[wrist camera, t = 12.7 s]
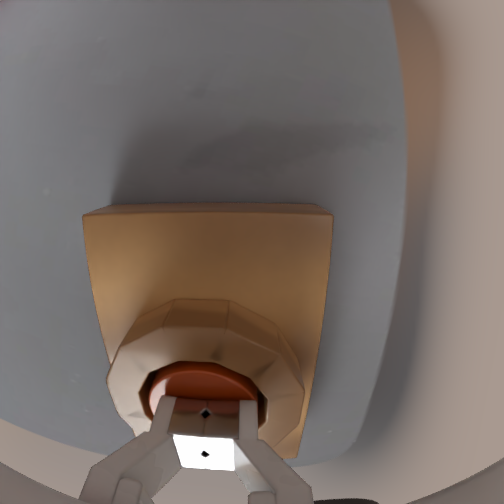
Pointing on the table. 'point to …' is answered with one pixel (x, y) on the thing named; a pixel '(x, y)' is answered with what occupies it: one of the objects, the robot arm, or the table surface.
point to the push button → (201, 383)
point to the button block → (212, 300)
